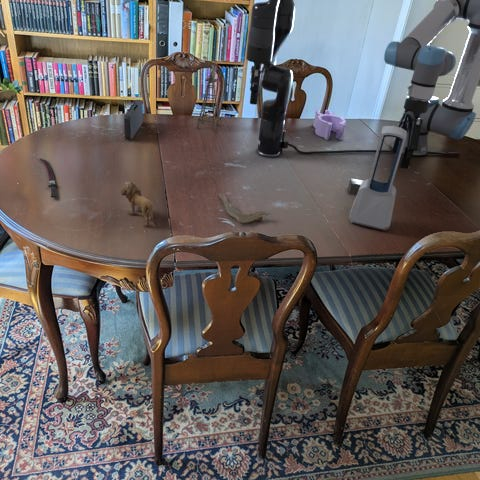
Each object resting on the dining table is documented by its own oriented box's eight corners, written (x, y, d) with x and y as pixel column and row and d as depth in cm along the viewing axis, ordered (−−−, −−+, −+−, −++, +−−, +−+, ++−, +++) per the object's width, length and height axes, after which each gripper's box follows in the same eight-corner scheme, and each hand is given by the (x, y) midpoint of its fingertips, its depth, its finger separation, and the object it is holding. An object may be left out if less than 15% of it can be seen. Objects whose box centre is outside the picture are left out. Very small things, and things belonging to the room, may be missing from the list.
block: (347, 189, 165) (350, 178, 163) (360, 190, 165) (363, 180, 162) (348, 194, 161) (351, 183, 159) (361, 196, 161) (364, 185, 159)
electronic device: (389, 222, 147) (418, 130, 131) (388, 233, 141) (417, 138, 125) (350, 212, 150) (373, 122, 134) (347, 223, 144) (370, 129, 127)
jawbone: (251, 231, 136) (251, 225, 134) (200, 206, 146) (200, 200, 145) (270, 218, 141) (270, 213, 140) (219, 195, 152) (219, 189, 150)
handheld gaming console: (136, 121, 202) (136, 98, 197) (143, 121, 202) (142, 98, 197) (123, 140, 183) (122, 115, 178) (130, 141, 183) (130, 116, 178)
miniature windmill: (214, 131, 201) (219, 58, 184) (195, 128, 202) (199, 55, 185) (219, 124, 208) (224, 54, 192) (201, 122, 209) (205, 51, 193)
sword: (61, 197, 141) (61, 193, 140) (50, 198, 139) (50, 194, 139) (49, 160, 164) (48, 156, 163) (39, 160, 163) (39, 157, 162)
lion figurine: (118, 210, 138) (116, 182, 133) (132, 204, 141) (131, 177, 137) (151, 229, 130) (150, 201, 126) (165, 223, 134) (165, 195, 129)
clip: (307, 123, 221) (309, 109, 217) (331, 124, 223) (334, 110, 219) (321, 139, 204) (324, 124, 201) (347, 140, 207) (350, 125, 203)
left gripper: (250, 38, 140) (244, 92, 149) (245, 46, 128) (239, 105, 137) (274, 41, 140) (268, 95, 149) (272, 50, 128) (265, 108, 137)
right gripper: (398, 87, 159) (382, 146, 170) (416, 107, 138) (395, 173, 149) (420, 90, 159) (402, 149, 170) (441, 110, 138) (419, 176, 149)
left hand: (254, 100), depth 143 cm, fingers open, 8 cm apart
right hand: (399, 160), depth 160 cm, fingers open, 13 cm apart
